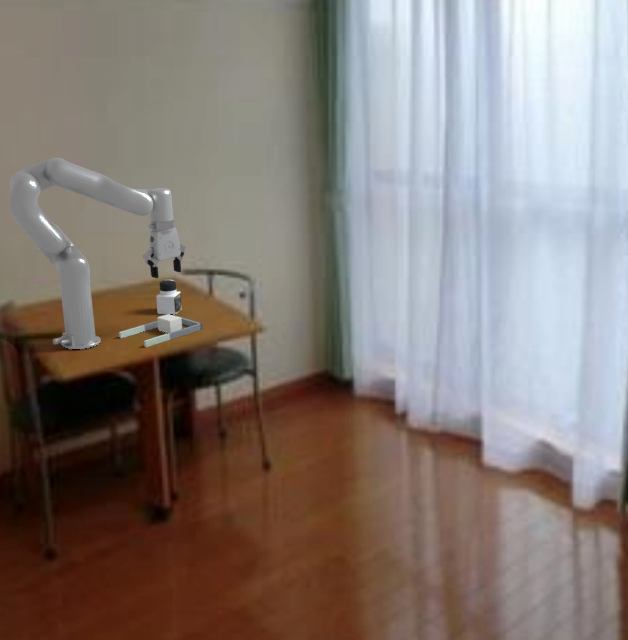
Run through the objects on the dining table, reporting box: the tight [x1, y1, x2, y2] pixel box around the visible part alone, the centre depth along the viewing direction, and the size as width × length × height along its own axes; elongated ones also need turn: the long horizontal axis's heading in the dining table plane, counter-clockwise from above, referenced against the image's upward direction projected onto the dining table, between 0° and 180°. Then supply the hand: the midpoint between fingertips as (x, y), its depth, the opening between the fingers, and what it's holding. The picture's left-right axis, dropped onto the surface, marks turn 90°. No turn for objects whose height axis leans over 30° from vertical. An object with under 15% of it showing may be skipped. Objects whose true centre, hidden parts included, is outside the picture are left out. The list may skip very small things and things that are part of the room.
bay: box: [118, 314, 204, 348], centre depth 292 cm, size 24×15×2 cm, turn 137°
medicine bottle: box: [155, 279, 183, 316], centre depth 315 cm, size 7×7×12 cm
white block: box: [157, 314, 183, 334], centre depth 294 cm, size 5×7×5 cm
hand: (166, 274), depth 289 cm, fingers open, 9 cm apart
